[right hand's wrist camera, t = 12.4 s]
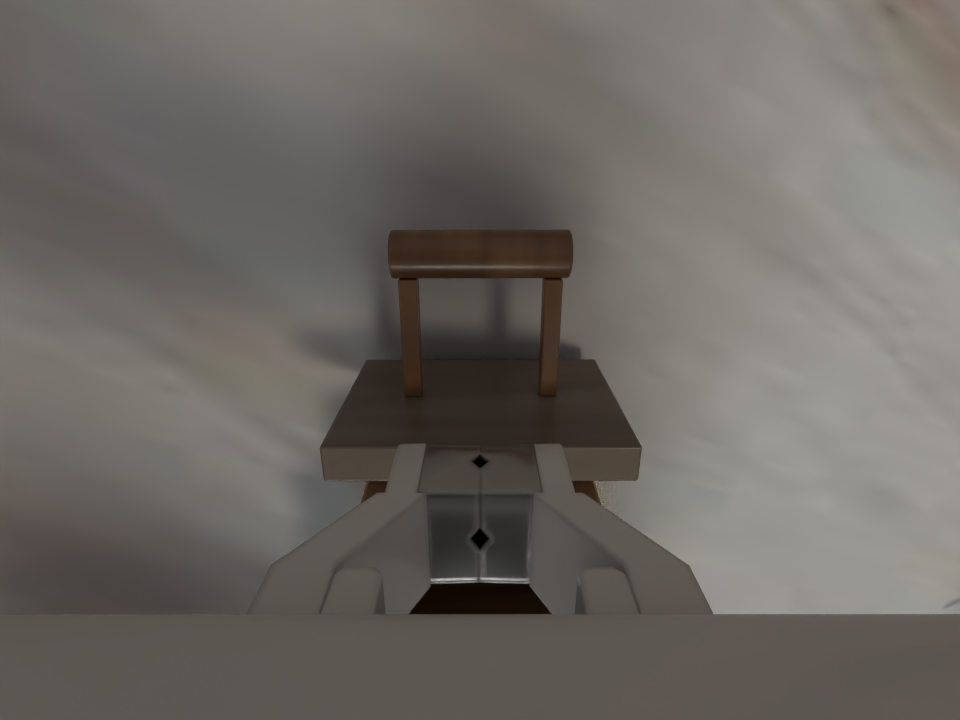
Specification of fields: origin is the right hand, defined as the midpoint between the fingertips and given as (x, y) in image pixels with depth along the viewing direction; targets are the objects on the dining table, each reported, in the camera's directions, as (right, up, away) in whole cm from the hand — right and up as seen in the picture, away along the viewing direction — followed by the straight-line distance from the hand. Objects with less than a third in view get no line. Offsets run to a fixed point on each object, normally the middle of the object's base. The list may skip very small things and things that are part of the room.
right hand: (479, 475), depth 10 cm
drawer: (0, -1, +13) cm, 13 cm away
